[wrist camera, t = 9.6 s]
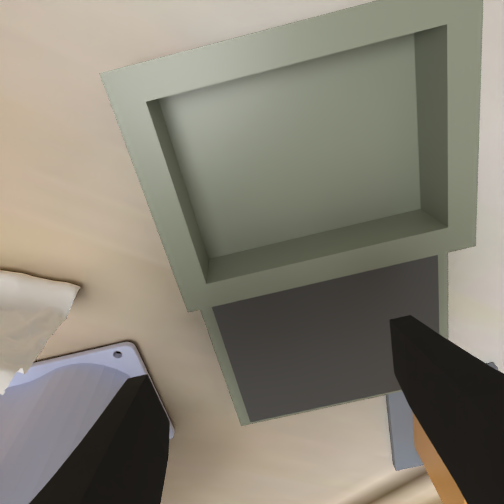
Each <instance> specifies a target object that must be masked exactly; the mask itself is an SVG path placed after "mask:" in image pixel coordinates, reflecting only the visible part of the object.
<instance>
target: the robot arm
mask: <svg viewBox="0 0 504 504" xmlns="http://www.w3.org/2000/svg"><path fill="white" fill-rule="evenodd" d="M389 321H390V333H391V344H392V355H393V367H394V374H395V376H396V378H397V381H398V383H399V385H400V387H401V389H402V392H403V394H404V396H405V398H406V400H407V402H408V404H409V406H410V408H411V410H412V411H413V413H414V415H415V416H416V418H417V420H418V421H419V423H420V425H421V426H422V428H423V430H424V431H425V433H426V435H427V436H428V438H429V440H430V441H431V443H432V445H433V446H434V448H435V450H436V451H437V453H438V455H439V456H440V458H441V459H442V461H443V463H444V464H445V466H446V468H447V469H448V471H449V473H450V474H451V476H452V478H453V479H454V481H455V483H456V484H457V486H458V488H459V490H460V491H461V493H462V495H463V497H464V499H465V500H466V502H467V504H504V374H503V373H501V372H500V371H498V370H496V369H494V368H493V367H491V366H489V365H487V364H486V363H484V362H482V361H481V360H479V359H478V358H476V357H474V356H473V355H471V354H469V353H468V352H466V351H465V350H463V349H461V348H460V347H458V346H457V345H455V344H454V343H452V342H451V341H449V340H448V339H446V338H445V337H443V336H441V335H440V334H438V333H437V332H436V331H434V330H433V329H431V328H430V327H428V326H427V325H425V324H424V323H422V322H421V321H419V320H418V319H416V318H415V317H413V316H411V315H408V316H403V317H399V318H394V319H390V320H389ZM115 351H119V352H121V353H122V354H118V353H116V352H115ZM4 391H5V393H4V394H3V395H1V394H0V504H160V502H161V497H162V491H163V485H164V479H165V473H166V467H167V461H168V451H169V440H170V439H172V438H173V437H174V432H175V430H174V427H173V425H172V423H171V421H170V419H169V417H168V415H167V412H166V410H165V408H164V406H163V404H162V402H161V400H160V397H159V395H158V393H157V391H156V389H155V387H154V385H153V382H152V380H151V378H150V376H149V374H148V372H147V370H146V367H145V365H144V363H143V361H142V359H141V357H140V355H139V352H138V350H137V348H136V346H135V345H134V344H132V343H130V342H123V343H118V344H114V345H110V346H105V347H101V348H97V349H92V350H88V351H84V352H79V353H75V354H70V355H66V356H62V357H57V358H53V359H49V360H44V361H40V362H36V363H32V366H31V367H30V368H29V370H28V372H27V373H26V374H23V373H20V372H17V373H16V374H15V375H14V376H13V379H12V380H11V382H10V383H9V386H8V387H7V388H6V389H5V390H4Z"/></svg>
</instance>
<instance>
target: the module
mask: <svg viewBox="0 0 504 504" xmlns="http://www.w3.org/2000/svg"><path fill="white" fill-rule="evenodd" d="M412 412H413V411H412ZM413 429H414V447H415V449H416V451H417V453H418V455H419V457H420V459H421V461H422V463H423V465H424V467H425V469H426V471H427V473H428V475H429V477H430V479H431V481H432V482H433V484H434V486H435V488H436V490H437V492H438V494H439V496H440V498H441V500H442V502H443V504H467V502H466V500H465V499H464V497H463V495H462V493H461V491H460V490H459V488H458V486H457V484H456V483H455V481H454V479H453V478H452V476H451V474H450V473H449V471H448V469H447V468H446V466H445V464H444V463H443V461H442V459H441V458H440V456H439V455H438V453H437V451H436V450H435V448H434V446H433V445H432V443H431V441H430V440H429V438H428V436H427V435H426V433H425V431H424V430H423V428H422V426H421V425H420V423H419V421H418V420H417V418H416V416H415V415H414V413H413Z"/></svg>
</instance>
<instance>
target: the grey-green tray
mask: <svg viewBox="0 0 504 504" xmlns="http://www.w3.org/2000/svg"><path fill="white" fill-rule="evenodd" d="M482 24H483V0H377V1H373V2H369V3H366V4H362V5H358V6H354V7H350V8H347V9H343V10H339V11H335V12H331V13H328V14H324V15H320V16H316V17H312V18H309V19H305V20H301V21H297V22H293V23H290V24H286V25H282V26H278V27H274V28H271V29H267V30H263V31H259V32H255V33H252V34H248V35H244V36H240V37H236V38H233V39H229V40H225V41H221V42H217V43H214V44H210V45H206V46H202V47H198V48H195V49H191V50H187V51H183V52H179V53H176V54H172V55H168V56H164V57H160V58H157V59H153V60H149V61H145V62H141V63H137V64H134V65H130V66H126V67H122V68H118V69H115V70H111V71H107V72H103V73H99V74H100V76H101V79H102V82H103V85H104V87H105V90H106V93H107V95H108V98H109V101H110V103H111V106H112V109H113V112H114V114H115V117H116V120H117V122H118V125H119V128H120V130H121V133H122V136H123V139H124V141H125V144H126V147H127V149H128V152H129V155H130V157H131V160H132V163H133V166H134V168H135V171H136V174H137V176H138V179H139V182H140V184H141V187H142V190H143V192H144V195H145V198H146V201H147V203H148V206H149V209H150V211H151V214H152V217H153V219H154V222H155V225H156V228H157V230H158V233H159V236H160V238H161V241H162V244H163V246H164V249H165V252H166V255H167V257H168V260H169V263H170V265H171V268H172V271H173V273H174V276H175V279H176V282H177V284H178V287H179V290H180V292H181V295H182V298H183V300H184V303H185V306H186V309H187V311H188V312H192V311H197V310H201V313H202V316H203V319H204V321H205V324H206V327H207V330H208V333H209V336H210V338H211V341H212V344H213V347H214V350H215V353H216V356H217V358H218V361H219V364H220V367H221V370H222V373H223V375H224V378H225V381H226V384H227V387H228V390H229V393H230V395H231V398H232V401H233V404H234V407H235V410H236V412H237V415H238V418H239V421H240V424H241V426H244V425H248V424H253V423H257V422H262V421H267V420H271V419H276V418H281V417H285V416H290V415H294V414H299V413H304V412H308V411H313V410H318V409H322V408H327V407H332V406H336V405H341V404H345V403H350V402H355V401H359V400H364V399H369V398H373V397H378V396H382V395H387V394H392V393H396V392H401V391H402V389H401V387H400V385H399V383H398V381H397V378H396V376H395V374H394V367H393V355H392V344H391V333H390V321H389V320H390V319H394V318H399V317H403V316H408V315H411V316H413V317H415V318H416V319H418V320H419V321H421V322H422V323H424V324H425V325H427V326H428V327H430V328H431V329H433V330H434V331H436V332H437V333H438V334H440V335H441V336H443V337H445V338H446V339H448V252H452V251H456V250H461V249H465V248H469V247H474V246H476V219H477V186H478V154H479V121H480V89H481V56H482Z"/></svg>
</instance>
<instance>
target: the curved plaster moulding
mask: <svg viewBox="0 0 504 504" xmlns="http://www.w3.org/2000/svg"><path fill="white" fill-rule="evenodd" d="M79 288H81V287H79V286H77V285H74V284H71V283H67V282H60V281H53V280H48V279H44V278H38V277H34V276H30V275H28V274H24V273H17V272H10V271H3V270H0V394H1V395H3V394H4V393H5V391H4V390H5V389H6V388H7V387H8V386H9V383H10V382H11V380H12V379H13V376H14V375H15V374H16V373H17V372H20V373H23V374H26V373H27V372H28V370H29V368H30V367H31V366H32V363H33V362H34V361H35V360H36V357H37V356H38V355H39V354H40V353H41V351H42V349H43V348H44V346H45V344H46V343H47V340H48V339H49V337H50V336H51V335H53V333H54V332H55V331H56V330H57V328H58V327H59V326H60V325H61V323H62V322H63V321H65V320H66V319H67V316H68V313H69V311H70V308H71V305H72V304H73V301H74V298H75V297H76V294H77V292H78V290H79Z"/></svg>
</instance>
